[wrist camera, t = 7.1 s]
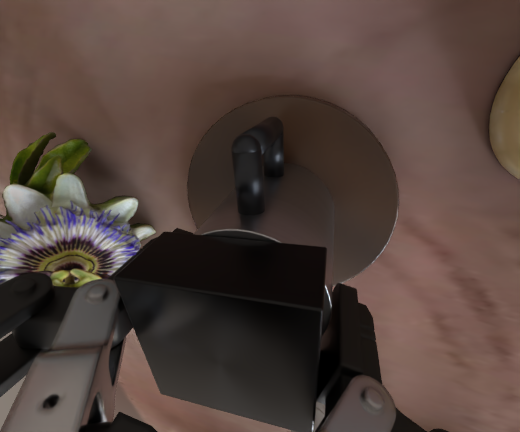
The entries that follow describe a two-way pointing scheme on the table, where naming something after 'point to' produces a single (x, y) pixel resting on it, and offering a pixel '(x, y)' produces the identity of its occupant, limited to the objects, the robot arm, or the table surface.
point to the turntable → (316, 161)
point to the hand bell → (507, 122)
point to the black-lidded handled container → (242, 292)
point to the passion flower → (63, 220)
